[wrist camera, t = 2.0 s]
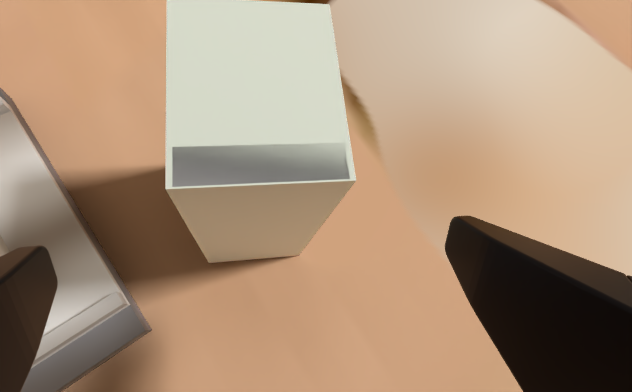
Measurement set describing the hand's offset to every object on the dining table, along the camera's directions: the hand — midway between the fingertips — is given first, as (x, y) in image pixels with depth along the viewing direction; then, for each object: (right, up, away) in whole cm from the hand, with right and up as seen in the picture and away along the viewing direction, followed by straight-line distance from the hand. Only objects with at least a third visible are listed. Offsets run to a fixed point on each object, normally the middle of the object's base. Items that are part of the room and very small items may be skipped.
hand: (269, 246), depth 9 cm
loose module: (-2, +1, +11) cm, 12 cm away
